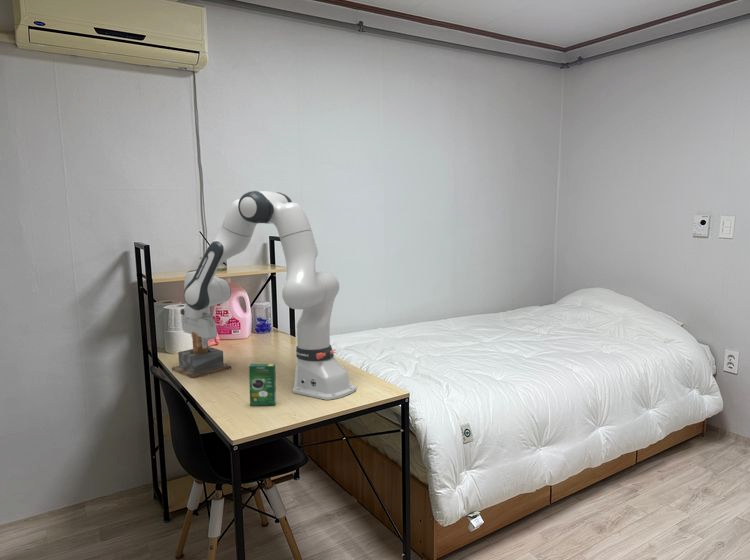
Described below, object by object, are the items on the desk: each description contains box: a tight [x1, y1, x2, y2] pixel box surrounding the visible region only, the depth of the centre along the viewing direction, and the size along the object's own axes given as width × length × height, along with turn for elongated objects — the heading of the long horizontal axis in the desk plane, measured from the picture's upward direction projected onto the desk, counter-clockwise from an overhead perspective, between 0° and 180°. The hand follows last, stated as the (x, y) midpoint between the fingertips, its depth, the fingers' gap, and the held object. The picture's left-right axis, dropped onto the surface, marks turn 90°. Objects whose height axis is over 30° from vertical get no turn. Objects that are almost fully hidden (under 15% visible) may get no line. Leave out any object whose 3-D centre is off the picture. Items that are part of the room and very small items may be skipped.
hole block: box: [171, 345, 232, 379], centre depth 200 cm, size 16×16×7 cm
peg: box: [191, 332, 209, 355], centre depth 199 cm, size 4×4×10 cm
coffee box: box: [248, 363, 277, 407], centre depth 162 cm, size 8×3×13 cm, turn 91°
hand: (200, 346), depth 199 cm, fingers closed on peg, 4 cm apart
